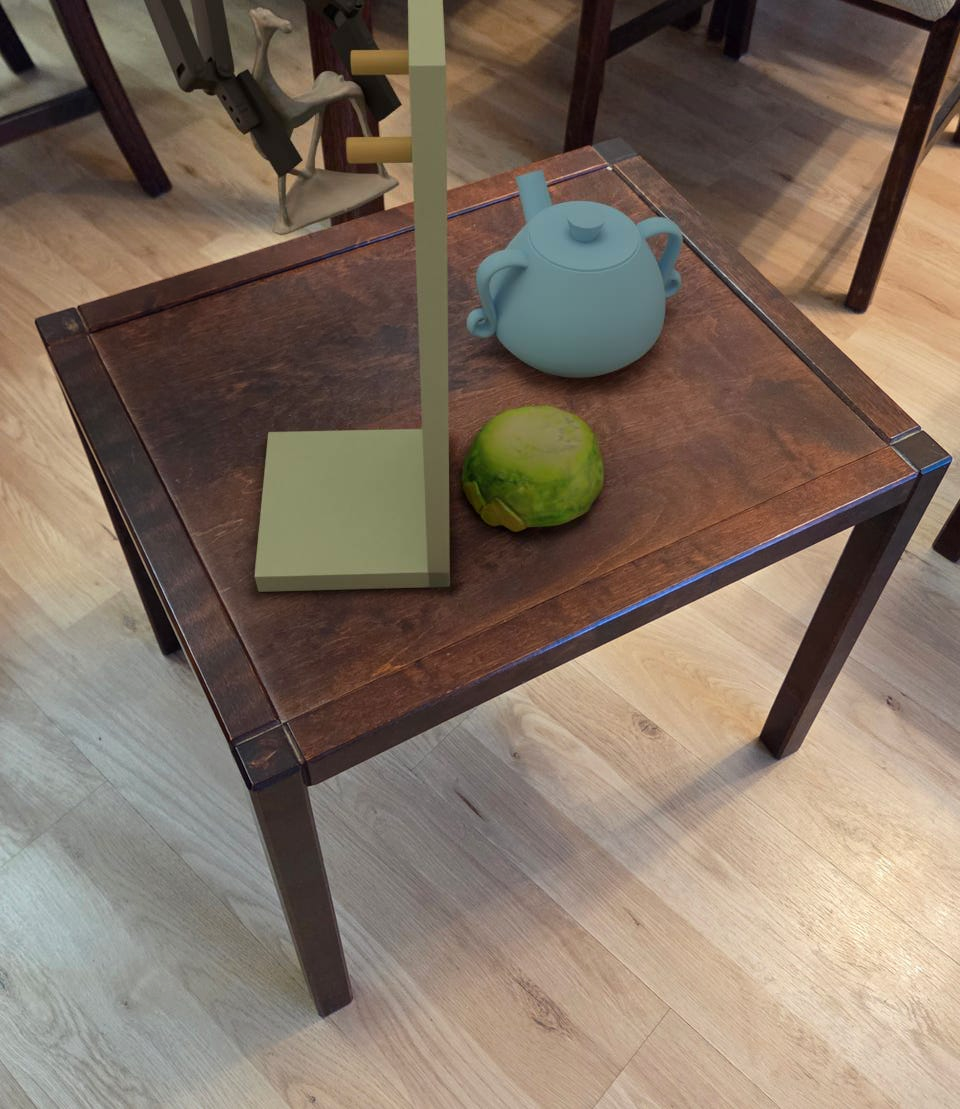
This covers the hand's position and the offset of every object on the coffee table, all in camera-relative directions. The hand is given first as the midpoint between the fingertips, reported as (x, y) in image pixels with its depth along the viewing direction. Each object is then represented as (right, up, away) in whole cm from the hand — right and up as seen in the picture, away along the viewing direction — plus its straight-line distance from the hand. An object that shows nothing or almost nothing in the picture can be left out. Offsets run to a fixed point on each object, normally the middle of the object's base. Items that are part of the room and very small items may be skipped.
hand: (341, 140), depth 74 cm
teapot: (+17, -8, +21) cm, 28 cm away
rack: (0, -26, +7) cm, 27 cm away
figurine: (-2, -2, +6) cm, 7 cm away
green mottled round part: (+14, -23, +10) cm, 29 cm away
